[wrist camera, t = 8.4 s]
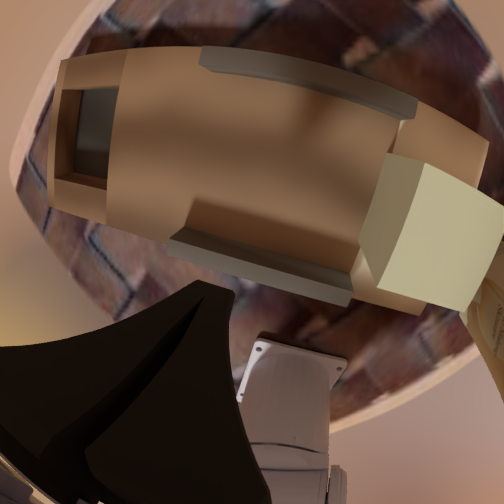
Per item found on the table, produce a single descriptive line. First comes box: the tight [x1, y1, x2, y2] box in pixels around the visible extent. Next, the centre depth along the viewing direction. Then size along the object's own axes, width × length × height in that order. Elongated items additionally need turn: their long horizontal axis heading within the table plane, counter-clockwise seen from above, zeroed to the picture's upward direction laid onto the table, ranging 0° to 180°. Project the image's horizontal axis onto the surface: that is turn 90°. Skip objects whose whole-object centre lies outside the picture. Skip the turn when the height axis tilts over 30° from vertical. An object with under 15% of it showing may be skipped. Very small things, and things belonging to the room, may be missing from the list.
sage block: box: [358, 153, 504, 312], centre depth 11 cm, size 5×5×5 cm
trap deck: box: [47, 46, 489, 316], centre depth 14 cm, size 12×29×4 cm, turn 78°
